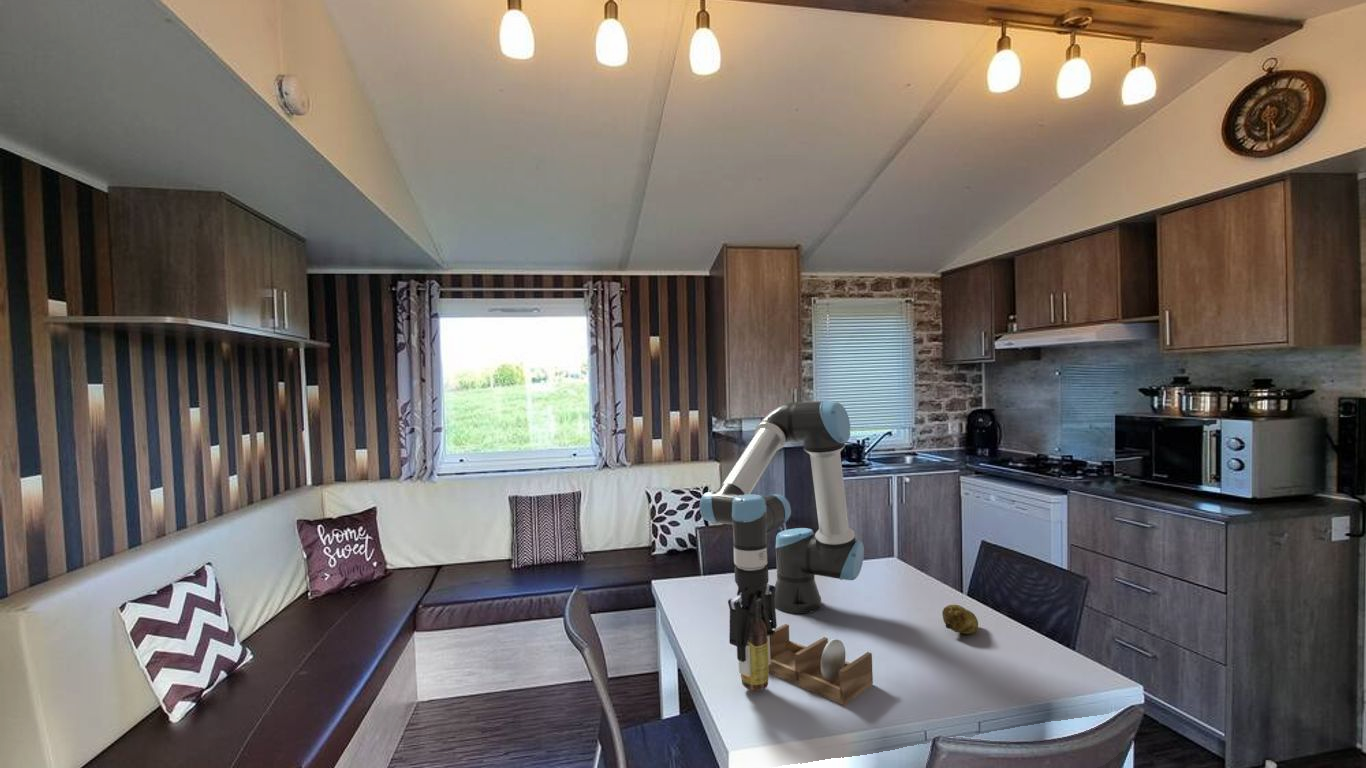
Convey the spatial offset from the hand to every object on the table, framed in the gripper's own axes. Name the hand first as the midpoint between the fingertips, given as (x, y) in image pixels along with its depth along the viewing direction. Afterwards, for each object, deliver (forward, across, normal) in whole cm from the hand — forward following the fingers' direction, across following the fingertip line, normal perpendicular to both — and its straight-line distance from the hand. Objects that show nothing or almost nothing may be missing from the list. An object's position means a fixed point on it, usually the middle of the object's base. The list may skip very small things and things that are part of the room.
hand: (755, 668), depth 126 cm
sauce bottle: (+4, 0, 0) cm, 4 cm away
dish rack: (+5, +15, -5) cm, 16 cm away
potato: (+6, +62, -21) cm, 65 cm away
